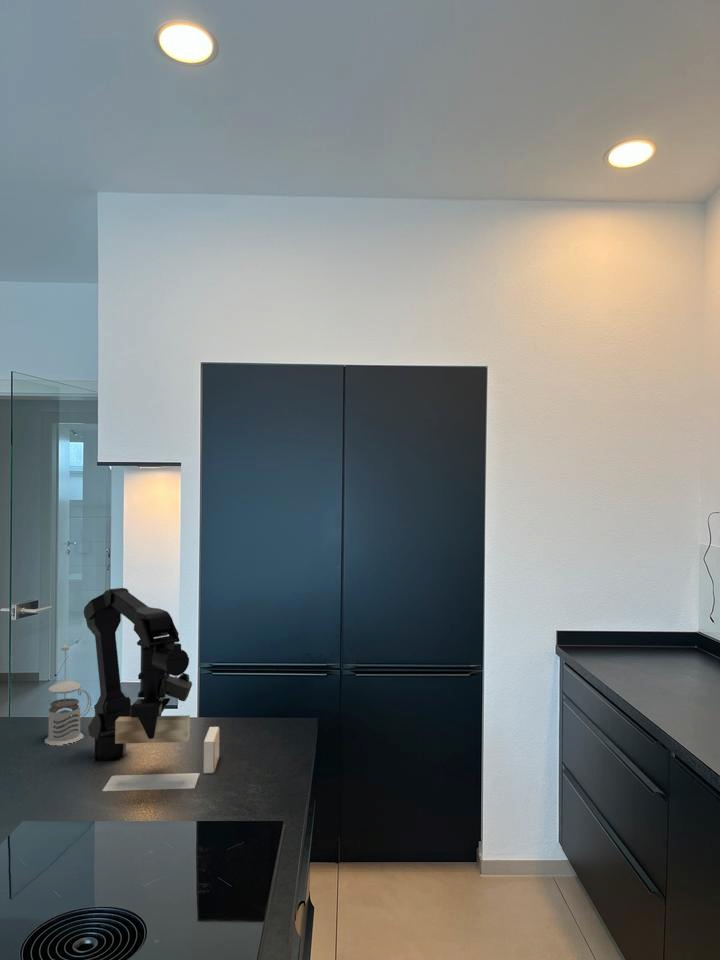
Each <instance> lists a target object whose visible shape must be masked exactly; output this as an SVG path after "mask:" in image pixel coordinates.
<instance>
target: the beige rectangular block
mask: <svg viewBox="0 0 720 960" xmlns="http://www.w3.org/2000/svg"><path fill="white" fill-rule="evenodd" d="M190 723H191V717H190V715H161V716H158V718H157V724H156V729H155V735H154V738H153V739H149V738H148V736H147V734H146V732H145V730H144V728H143V726H142V724H141V722H140V720H139V718H138V717H133V718H132V717H118V719H117V720H116V721H115V744H120V743H126V744H152V743H155V744H156V743H157V744H158V743H160V744H161V743H188V742H189V739H190V735H191V732H190V731H191V729H190V728H191V724H190Z"/></svg>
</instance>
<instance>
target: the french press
mask: <svg viewBox="0 0 720 960" xmlns="http://www.w3.org/2000/svg"><path fill="white" fill-rule="evenodd" d="M69 650H70V647H69V645H66V644H64V645H63V646H61V651H64V678H66V675H67V674H66V672H67V671H66V670H67V669H66V668H67V667H66V663H67V661H66V660H67V657H66V656H67V651H69ZM76 691H77V694H78V696H81V695H82V692H83V693H85V694H86V696H87V697H86V698H87V704H86V705H87V706H86V708H85V710H84V711H83V712H82V713H81V707H80V705H79V703H80V701H79V699H77V698H72V697H69V698H66V694H69V693H74V692H76ZM48 692H49V693H51V694H64V696H63V697H64V698H59V699H55V700H53V701H51V702H50V704H49V705H50V708H49V709H48V735H47V737H46V738H45V739H44V740H43V741H45V742H44V744H46V743H47V744H46V745H48V744H49V745H48V746H54V745H57V746H64V745H63V744H67V745H69V744H68V743H72V744H74V743H73V742H75V743H77V742H76V741H78V740H80V739H82V738H83V739H84V734H83V733H82V732H81V726H82V725H81V724H82V723H81V720H82V718H83V717H85V716H86V715H87V714H88V713H89V711H90V709H91V705H92V698H91V695H90V693H88V691H86V690H84V689H82V685H81V684H80V683H78V682H77V681H73V680H61V681H59V682H56V683H54V684H52V685H50V687H48ZM63 709H64V710H63ZM65 709H66V710H65ZM67 709H70V710H67ZM59 710H60V711H59ZM58 711H59V712H58ZM67 718H68V719H67ZM56 722H57V723H56ZM83 739H82V740H83ZM80 741H81V740H80ZM78 742H79V741H78Z"/></svg>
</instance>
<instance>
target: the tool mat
mask: <svg viewBox="0 0 720 960" xmlns="http://www.w3.org/2000/svg"><path fill="white" fill-rule="evenodd" d="M199 777H200V772H198V773H197V772H195V773H193V772H192V773H191V772H190V773H162V774H161V773H157V774H156V773H155V774H128V775H127V774H126V775H125V774H124V775H122V774H121V775H112V776H111V777H110V778H109V780H108V781H107V783H106V784H105V786H104V787H103V788H102V791H101V792H116V791H117V792H118V791H119V792H120V791H125V792H126V791H151V790H181V789H182V790H183V789H184V790H185V789H190V790H191V789H195V787H196V785H197V782H198V779H199Z"/></svg>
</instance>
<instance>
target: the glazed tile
mask: <svg viewBox="0 0 720 960" xmlns="http://www.w3.org/2000/svg"><path fill="white" fill-rule="evenodd" d="M219 759H220V727H219V726H209V728H208V730H207V733H206V735H205V738H204V741H203V774H214V773H215V772H216V769H217V764H218V762H219Z"/></svg>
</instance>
